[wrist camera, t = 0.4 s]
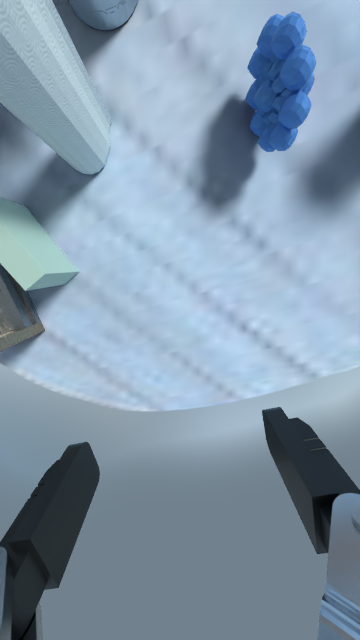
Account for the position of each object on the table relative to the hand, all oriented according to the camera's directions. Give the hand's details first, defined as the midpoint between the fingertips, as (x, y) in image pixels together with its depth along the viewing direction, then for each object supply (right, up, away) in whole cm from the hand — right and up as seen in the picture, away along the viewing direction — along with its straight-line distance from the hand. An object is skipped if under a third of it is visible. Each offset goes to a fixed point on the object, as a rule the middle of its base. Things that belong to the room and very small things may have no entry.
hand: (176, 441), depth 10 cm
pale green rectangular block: (-21, +17, +24) cm, 36 cm away
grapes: (+12, +32, +20) cm, 40 cm away
